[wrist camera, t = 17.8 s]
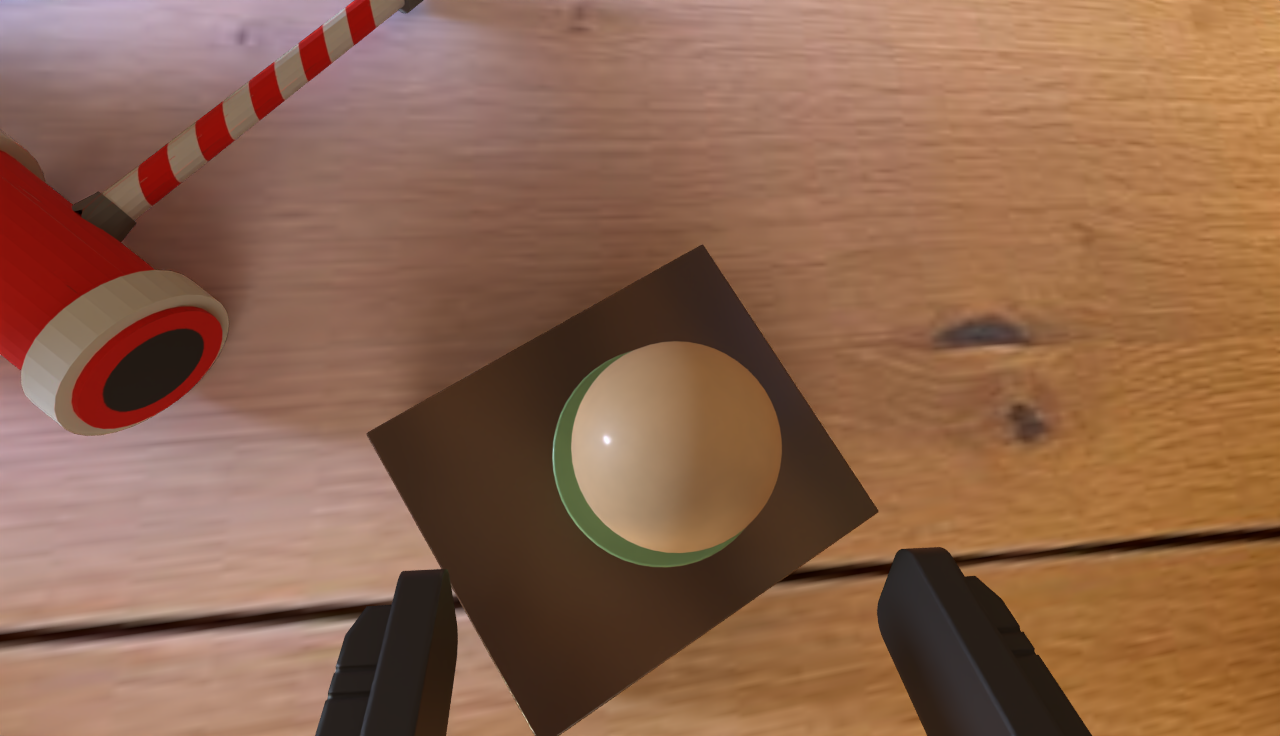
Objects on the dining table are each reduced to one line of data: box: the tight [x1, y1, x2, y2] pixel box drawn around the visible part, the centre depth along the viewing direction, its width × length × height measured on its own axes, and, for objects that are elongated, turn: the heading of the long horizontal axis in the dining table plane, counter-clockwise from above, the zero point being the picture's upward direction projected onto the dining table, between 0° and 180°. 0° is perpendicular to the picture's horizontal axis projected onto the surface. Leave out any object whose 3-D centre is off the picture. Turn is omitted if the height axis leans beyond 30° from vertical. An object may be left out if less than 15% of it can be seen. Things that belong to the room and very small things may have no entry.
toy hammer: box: [0, 0, 423, 436], centre depth 26 cm, size 23×12×6 cm, turn 143°
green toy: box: [552, 341, 782, 567], centre depth 16 cm, size 5×5×11 cm
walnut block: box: [367, 245, 878, 736], centre depth 25 cm, size 13×11×6 cm
